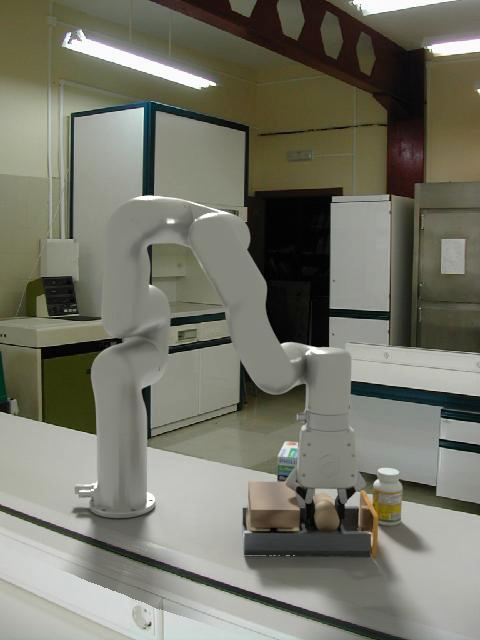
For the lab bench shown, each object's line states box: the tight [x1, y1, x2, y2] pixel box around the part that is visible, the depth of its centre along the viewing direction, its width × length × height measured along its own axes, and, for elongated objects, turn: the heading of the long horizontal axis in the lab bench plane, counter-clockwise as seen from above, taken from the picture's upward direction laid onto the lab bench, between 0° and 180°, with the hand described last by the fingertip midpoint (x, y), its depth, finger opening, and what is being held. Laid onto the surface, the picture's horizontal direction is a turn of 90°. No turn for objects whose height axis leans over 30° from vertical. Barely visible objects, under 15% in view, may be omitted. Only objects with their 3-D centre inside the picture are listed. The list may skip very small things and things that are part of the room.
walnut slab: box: [247, 481, 300, 527], centre depth 125 cm, size 8×13×3 cm, turn 1°
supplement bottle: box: [372, 467, 403, 527], centre depth 135 cm, size 5×5×10 cm
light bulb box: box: [276, 441, 316, 506], centre depth 144 cm, size 11×7×11 cm, turn 168°
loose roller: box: [313, 492, 339, 531], centre depth 126 cm, size 4×8×4 cm, turn 1°
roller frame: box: [241, 489, 379, 558], centre depth 126 cm, size 22×12×7 cm, turn 91°
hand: (324, 521), depth 126 cm, fingers closed on loose roller, 4 cm apart
